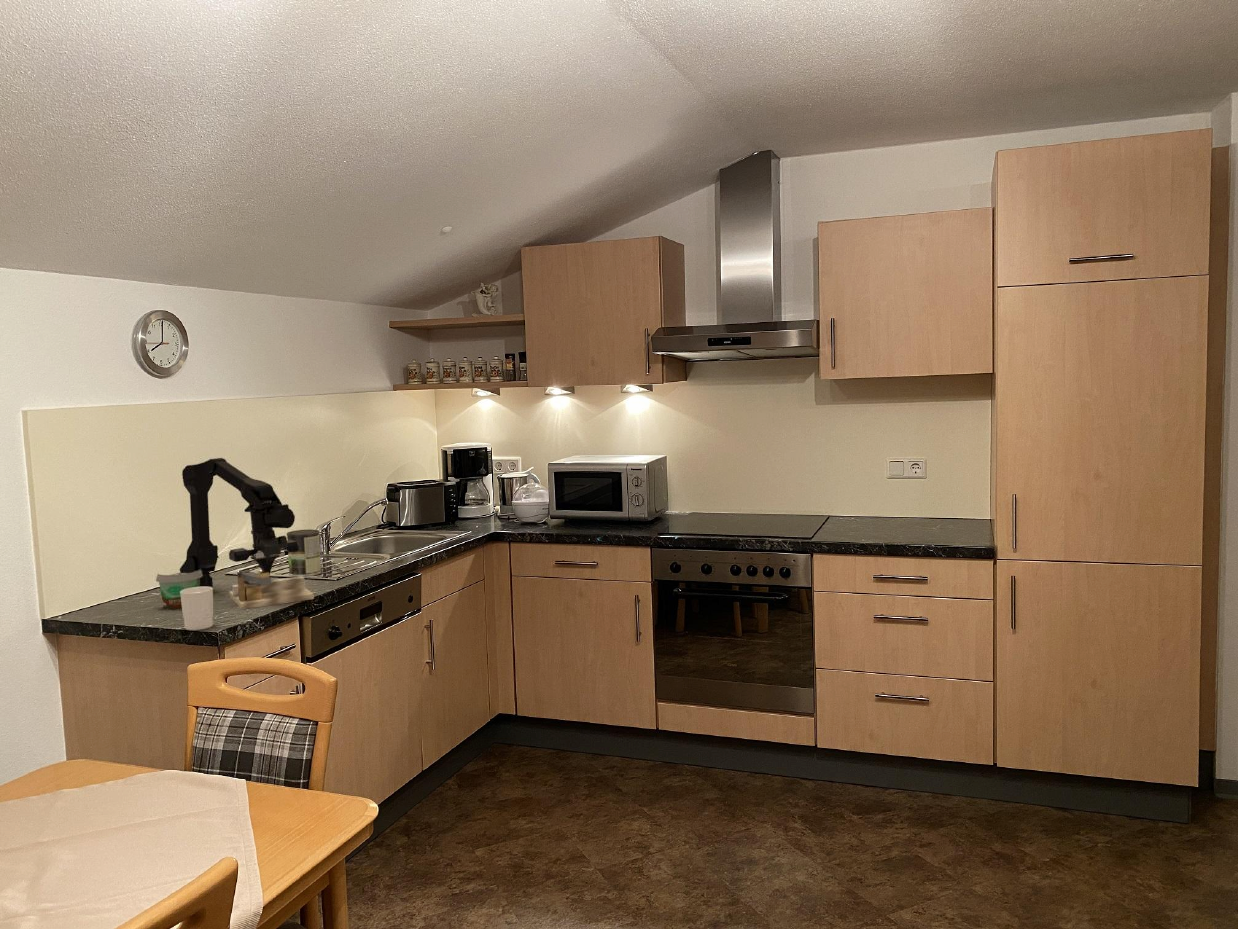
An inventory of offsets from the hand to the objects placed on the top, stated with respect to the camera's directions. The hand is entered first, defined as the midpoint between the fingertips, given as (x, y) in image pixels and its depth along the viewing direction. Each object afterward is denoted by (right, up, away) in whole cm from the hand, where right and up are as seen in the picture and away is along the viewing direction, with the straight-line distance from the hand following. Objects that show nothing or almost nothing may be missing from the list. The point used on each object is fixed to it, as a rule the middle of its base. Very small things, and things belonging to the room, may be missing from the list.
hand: (267, 579), depth 279 cm
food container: (-23, -8, -5) cm, 25 cm away
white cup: (-7, -9, -29) cm, 31 cm away
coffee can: (-1, -3, +38) cm, 38 cm away
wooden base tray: (0, -6, +4) cm, 7 cm away
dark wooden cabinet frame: (-4, -1, +1) cm, 4 cm away
